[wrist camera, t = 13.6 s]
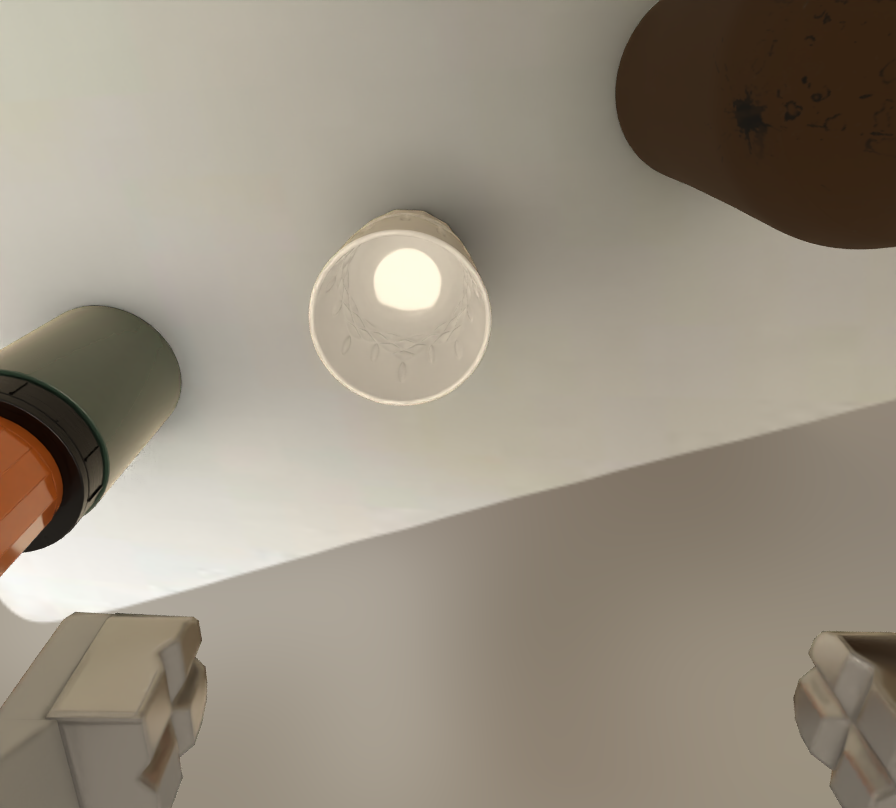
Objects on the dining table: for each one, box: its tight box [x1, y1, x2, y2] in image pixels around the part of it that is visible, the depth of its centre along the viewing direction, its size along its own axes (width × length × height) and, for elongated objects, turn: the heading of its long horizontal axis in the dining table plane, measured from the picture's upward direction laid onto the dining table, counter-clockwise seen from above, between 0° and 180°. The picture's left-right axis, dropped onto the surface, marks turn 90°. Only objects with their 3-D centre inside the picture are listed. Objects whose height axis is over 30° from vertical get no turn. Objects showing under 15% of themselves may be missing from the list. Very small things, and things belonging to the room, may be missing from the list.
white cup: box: [309, 210, 492, 405], centre depth 33 cm, size 8×8×10 cm
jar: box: [0, 306, 181, 516], centre depth 35 cm, size 8×8×12 cm
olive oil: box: [616, 0, 896, 249], centre depth 23 cm, size 11×11×25 cm
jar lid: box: [0, 376, 103, 553], centre depth 30 cm, size 8×8×2 cm
